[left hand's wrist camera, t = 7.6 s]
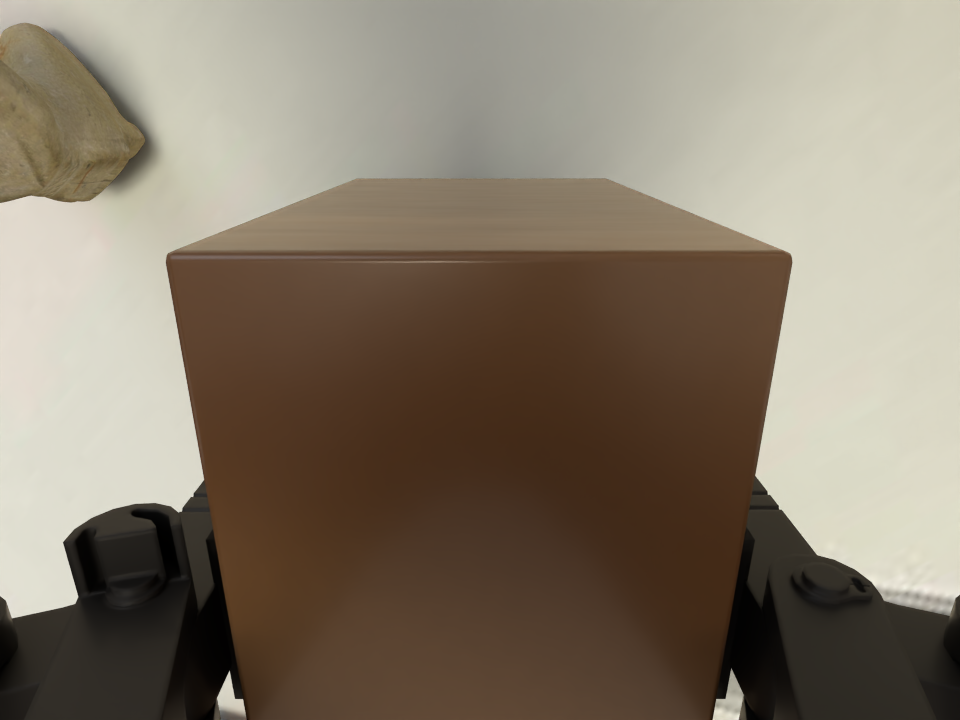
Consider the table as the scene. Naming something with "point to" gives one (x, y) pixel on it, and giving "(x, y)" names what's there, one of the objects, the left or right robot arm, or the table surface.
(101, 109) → the sculpture
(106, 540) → the left robot arm
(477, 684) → the beam
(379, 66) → the table surface
